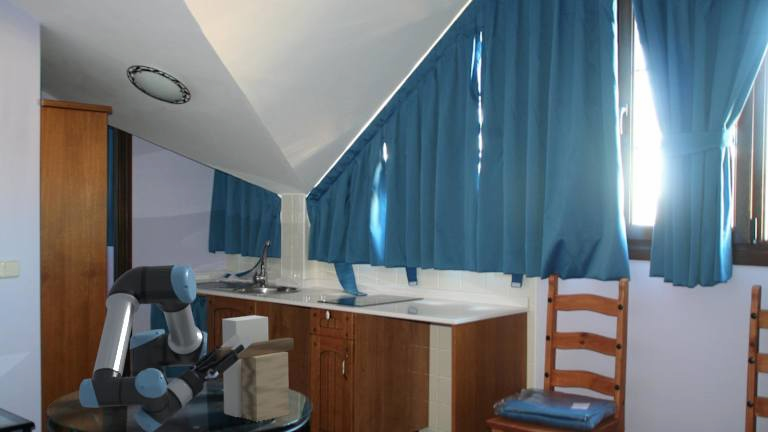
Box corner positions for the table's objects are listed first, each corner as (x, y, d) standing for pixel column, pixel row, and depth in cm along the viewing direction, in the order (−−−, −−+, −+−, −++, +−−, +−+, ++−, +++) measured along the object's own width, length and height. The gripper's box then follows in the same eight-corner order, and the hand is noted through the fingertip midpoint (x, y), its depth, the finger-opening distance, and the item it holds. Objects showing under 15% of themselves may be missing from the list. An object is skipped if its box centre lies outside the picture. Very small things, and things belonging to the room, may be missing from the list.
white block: (224, 413, 232) (222, 319, 233) (255, 406, 241) (254, 315, 241) (237, 417, 226) (236, 321, 227) (269, 410, 235) (268, 317, 235)
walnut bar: (216, 360, 218) (216, 348, 218) (287, 348, 236) (286, 337, 236) (223, 362, 216) (222, 350, 216) (293, 349, 234) (293, 338, 234)
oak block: (242, 417, 226) (241, 354, 227) (274, 410, 235) (273, 349, 235) (257, 422, 221) (255, 357, 221) (289, 414, 229) (287, 352, 229)
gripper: (175, 393, 217) (233, 345, 231) (207, 403, 203) (266, 351, 218) (163, 373, 214) (222, 326, 228) (194, 381, 201) (255, 331, 215)
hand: (244, 338), depth 223 cm, fingers open, 5 cm apart
